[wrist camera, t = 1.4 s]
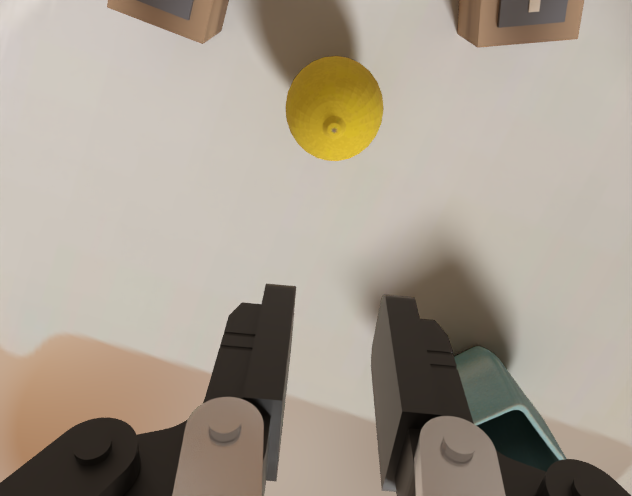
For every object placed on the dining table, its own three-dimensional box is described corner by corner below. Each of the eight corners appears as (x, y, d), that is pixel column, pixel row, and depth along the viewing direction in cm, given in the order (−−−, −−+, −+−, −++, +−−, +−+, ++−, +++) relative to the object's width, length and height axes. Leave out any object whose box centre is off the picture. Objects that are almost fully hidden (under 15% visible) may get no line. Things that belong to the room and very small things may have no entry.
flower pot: (395, 364, 44) (408, 452, 36) (487, 317, 41) (522, 403, 33) (445, 420, 47) (467, 512, 39) (533, 381, 44) (575, 472, 37)
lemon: (277, 110, 33) (262, 153, 26) (315, 28, 30) (309, 51, 23) (351, 147, 34) (356, 198, 27) (394, 71, 31) (411, 105, 24)
